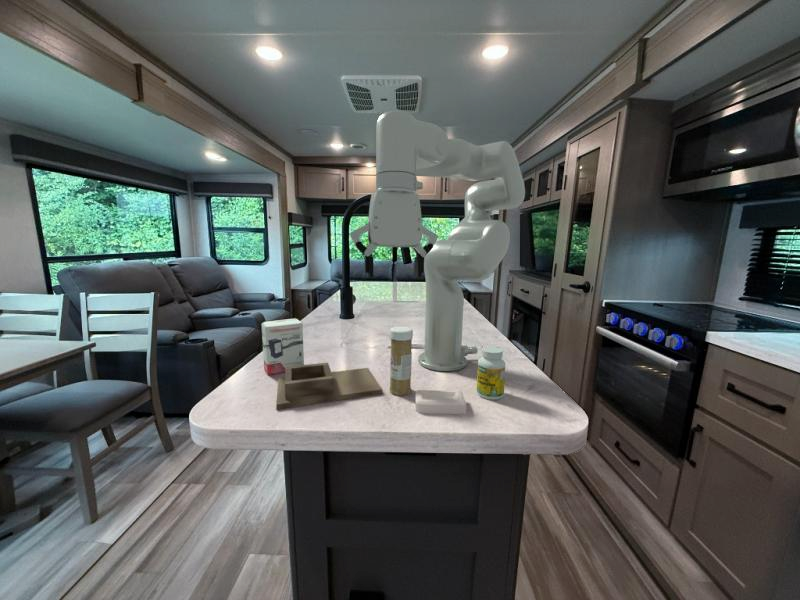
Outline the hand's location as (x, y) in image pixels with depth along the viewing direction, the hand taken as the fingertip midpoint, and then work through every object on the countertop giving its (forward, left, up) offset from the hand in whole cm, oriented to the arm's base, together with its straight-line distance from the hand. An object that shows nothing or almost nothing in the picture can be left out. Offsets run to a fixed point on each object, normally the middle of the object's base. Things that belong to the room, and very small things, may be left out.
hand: (394, 276), depth 60 cm
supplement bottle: (-18, +8, -24) cm, 31 cm away
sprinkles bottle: (-1, +1, -24) cm, 24 cm away
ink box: (+22, -19, -24) cm, 37 cm away
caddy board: (+13, -5, -24) cm, 27 cm away
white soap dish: (-6, +9, -24) cm, 27 cm away
